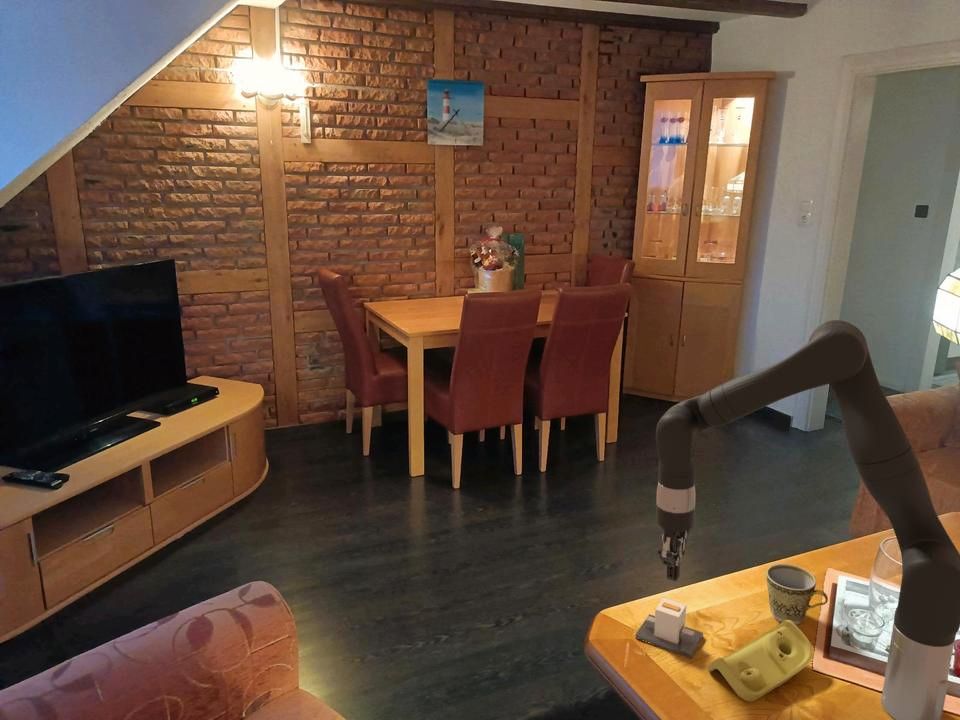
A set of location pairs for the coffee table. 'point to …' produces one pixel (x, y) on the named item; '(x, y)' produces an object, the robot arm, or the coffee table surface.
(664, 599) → the block
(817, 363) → the robot arm
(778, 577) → the ceramic cup
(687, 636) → the panel
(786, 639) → the plastic component
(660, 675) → the coffee table surface
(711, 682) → the coffee table surface
